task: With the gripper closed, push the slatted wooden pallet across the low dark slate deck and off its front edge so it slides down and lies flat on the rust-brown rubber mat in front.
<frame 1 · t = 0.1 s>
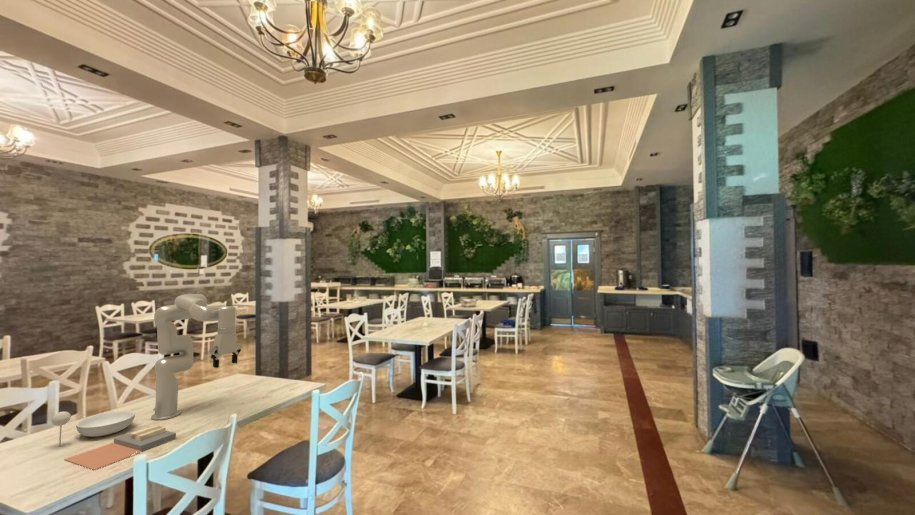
hand: (225, 365, 184), 31 cm above the table, tool pointing down, fingers open, 9 cm apart
rust mat: (104, 456, 154), on the table
slate deck: (145, 441, 168), on the table
serving bowl: (106, 432, 178), on the table
slatted wooden pallet: (148, 434, 169), point 2 cm above the table, touching slate deck
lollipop: (59, 446, 163), on the table
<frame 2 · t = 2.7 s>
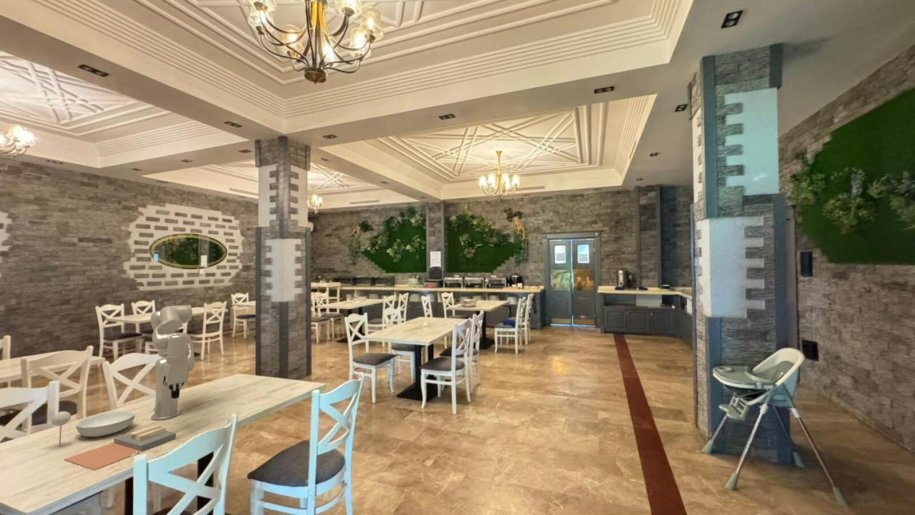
hand: (175, 397, 179), 16 cm above the table, tool pointing down, fingers closed
nothing on the table moved.
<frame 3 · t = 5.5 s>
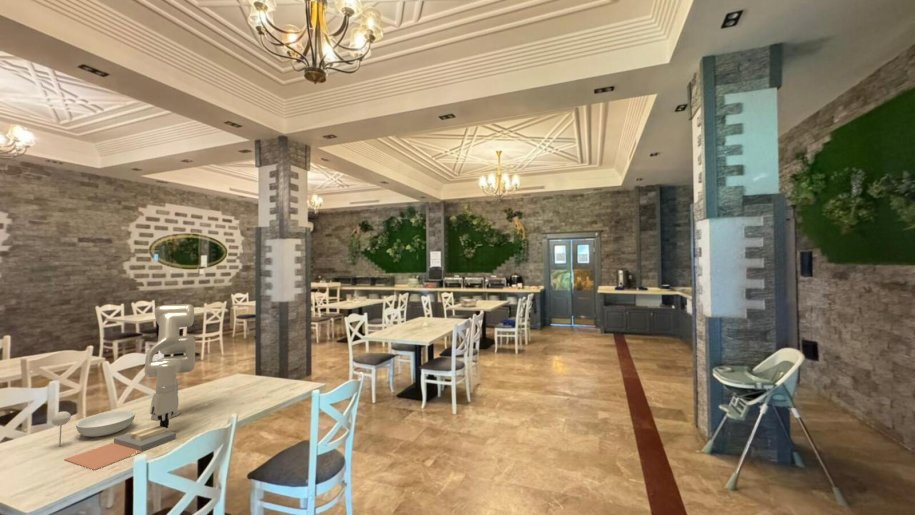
hand: (164, 427, 175), 3 cm above the table, tool pointing down, fingers closed
slatted wooden pallet: (148, 434, 169), point 2 cm above the table, touching gripper, slate deck
everything else where it was.
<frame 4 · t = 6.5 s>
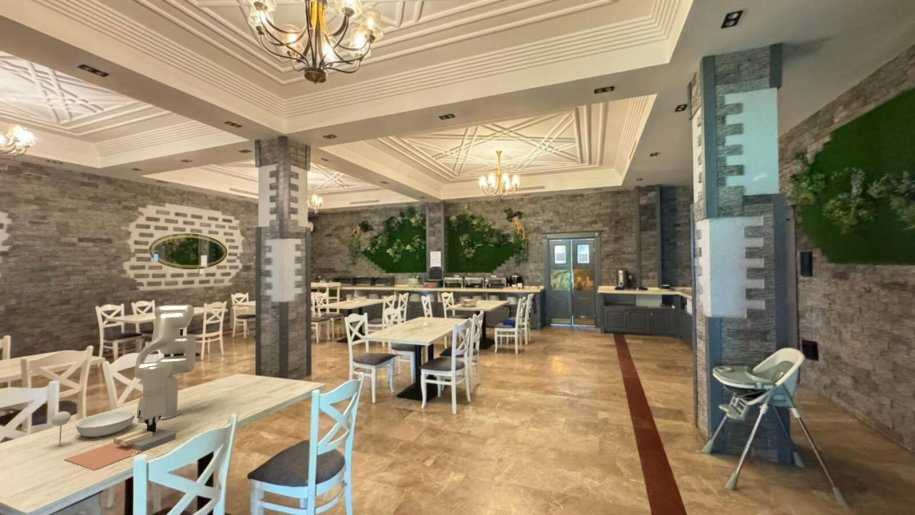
hand: (151, 432, 170), 3 cm above the table, tool pointing down, fingers closed
slatted wooden pallet: (134, 439, 164), point 2 cm above the table, touching gripper, slate deck
everything else where it was.
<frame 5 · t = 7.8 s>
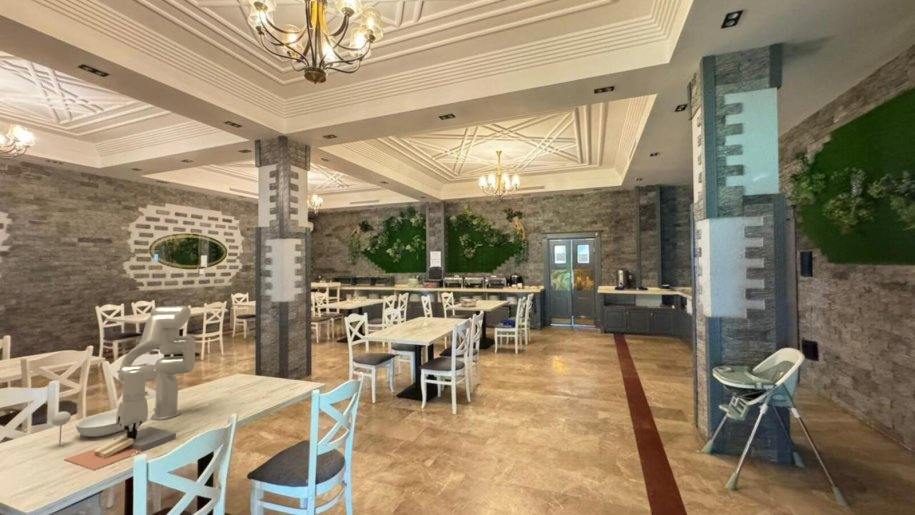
hand: (131, 438, 163), 3 cm above the table, tool pointing down, fingers closed
slatted wooden pallet: (114, 448, 157), point 2 cm above the table, tilted 12°, touching gripper
everything else where it was.
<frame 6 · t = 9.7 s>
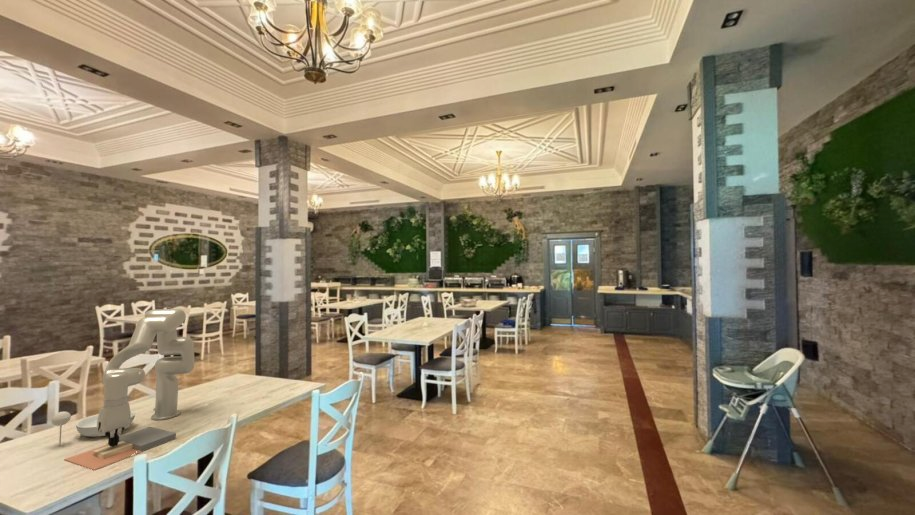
hand: (113, 445, 157), 3 cm above the table, tool pointing down, fingers closed
slatted wooden pallet: (112, 452, 157), resting on rust mat
everything else where it was.
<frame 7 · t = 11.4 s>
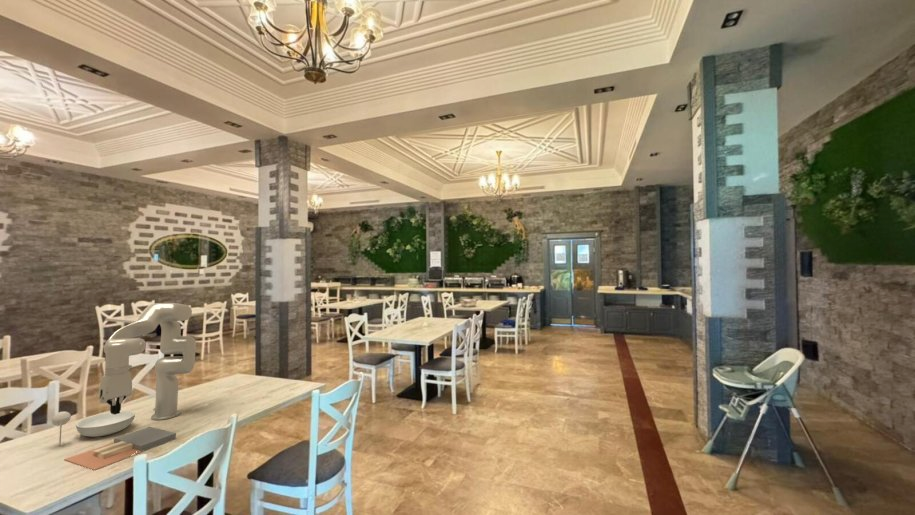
hand: (115, 413, 158), 16 cm above the table, tool pointing down, fingers closed
nothing on the table moved.
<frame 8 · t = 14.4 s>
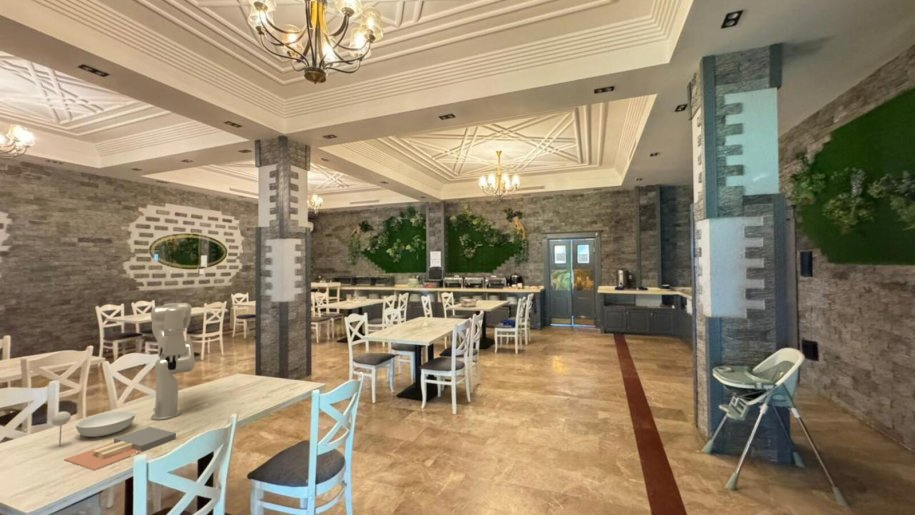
hand: (171, 369, 183), 29 cm above the table, tool pointing down, fingers closed
nothing on the table moved.
at the end: slatted wooden pallet inside the target area (3.4 cm from its centre), resting on rust mat; slatted wooden pallet resting on rust mat; slatted wooden pallet tilted 0° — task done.
